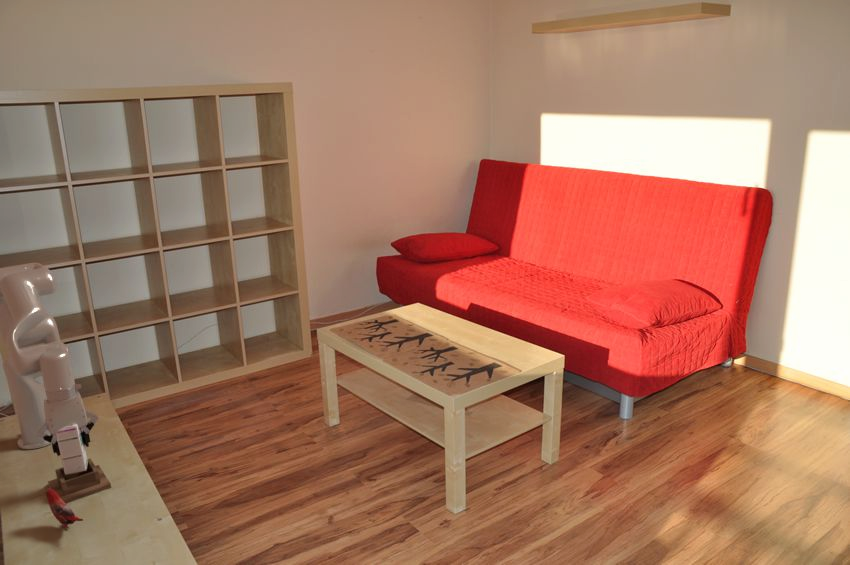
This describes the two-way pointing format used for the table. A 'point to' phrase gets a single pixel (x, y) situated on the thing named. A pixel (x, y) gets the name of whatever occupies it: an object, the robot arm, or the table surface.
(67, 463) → the syrup box
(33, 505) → the table surface
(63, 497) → the stand
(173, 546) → the table surface
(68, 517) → the decorative bird figurine
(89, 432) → the robot arm
